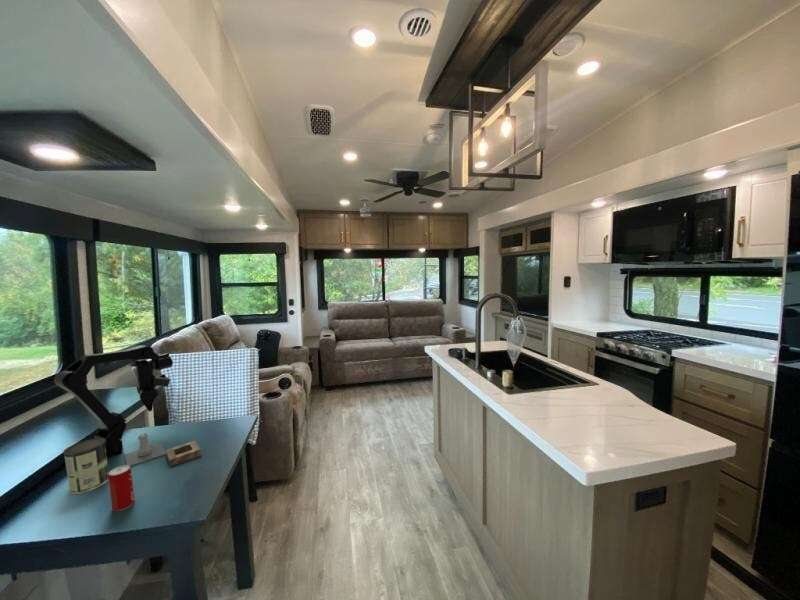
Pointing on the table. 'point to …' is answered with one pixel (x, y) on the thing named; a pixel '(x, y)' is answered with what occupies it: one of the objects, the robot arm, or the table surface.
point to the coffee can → (86, 465)
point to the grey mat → (134, 459)
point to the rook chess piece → (144, 445)
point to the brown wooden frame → (183, 453)
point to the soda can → (121, 488)
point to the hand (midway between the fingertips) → (149, 408)
